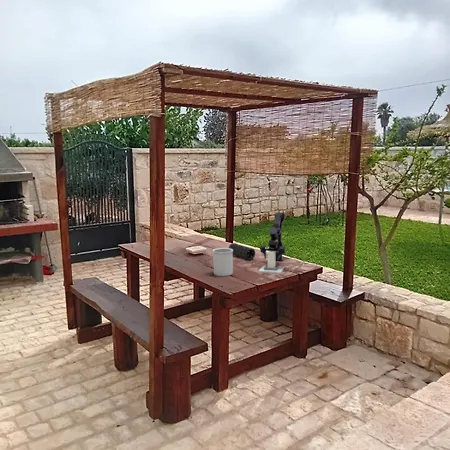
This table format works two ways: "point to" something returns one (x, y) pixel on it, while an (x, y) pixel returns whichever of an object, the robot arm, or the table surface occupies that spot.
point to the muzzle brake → (242, 251)
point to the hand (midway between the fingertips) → (271, 259)
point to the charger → (271, 259)
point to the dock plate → (271, 269)
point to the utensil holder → (223, 261)
